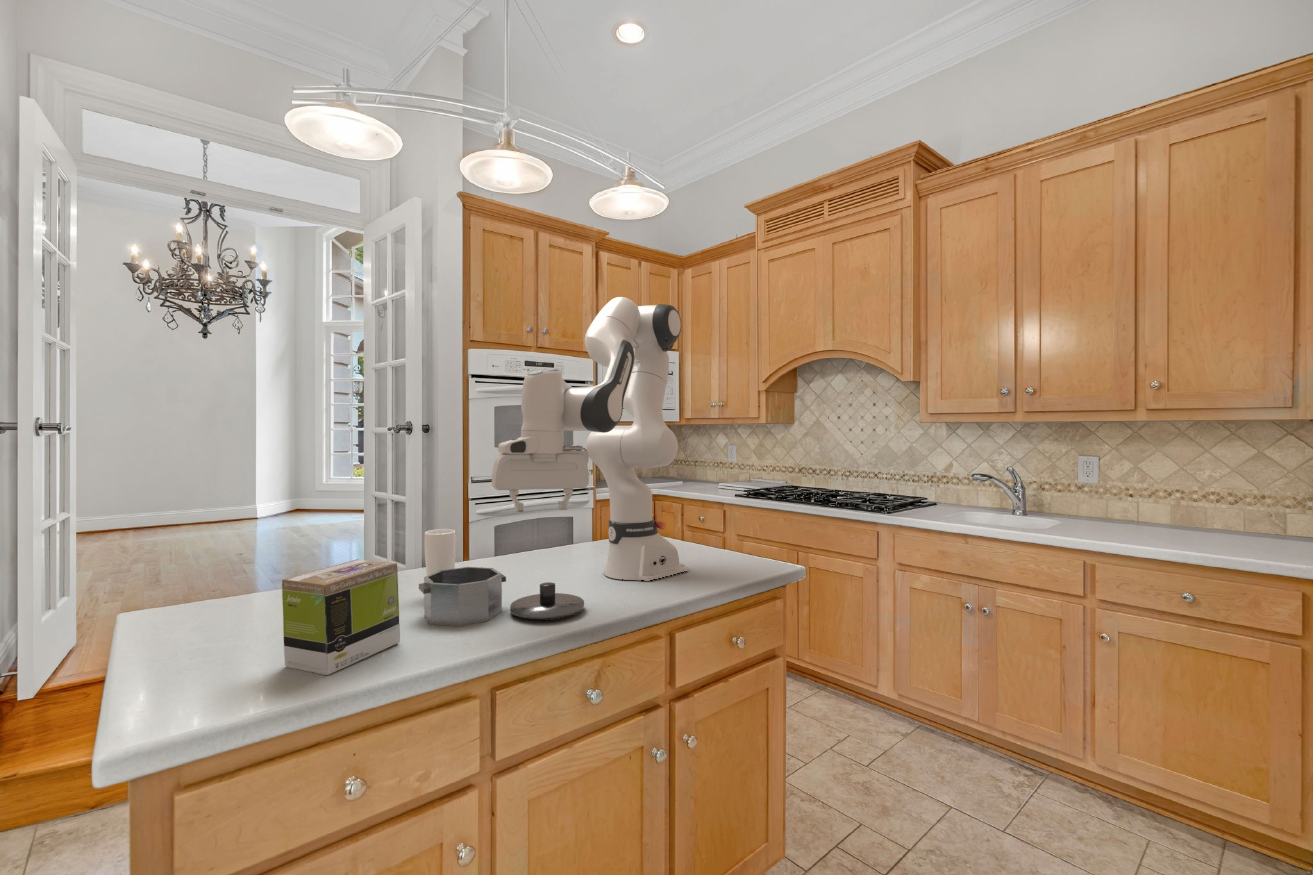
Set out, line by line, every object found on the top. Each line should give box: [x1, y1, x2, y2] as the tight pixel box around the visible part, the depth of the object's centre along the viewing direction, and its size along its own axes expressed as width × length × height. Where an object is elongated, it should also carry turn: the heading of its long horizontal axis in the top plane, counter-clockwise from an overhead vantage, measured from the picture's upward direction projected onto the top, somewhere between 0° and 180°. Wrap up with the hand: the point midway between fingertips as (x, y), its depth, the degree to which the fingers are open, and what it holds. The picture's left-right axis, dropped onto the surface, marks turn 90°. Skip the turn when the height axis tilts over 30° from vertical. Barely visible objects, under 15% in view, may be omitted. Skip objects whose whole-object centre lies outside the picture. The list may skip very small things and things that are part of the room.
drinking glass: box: [423, 528, 457, 576], centre depth 134 cm, size 7×7×15 cm
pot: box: [418, 566, 507, 627], centre depth 122 cm, size 17×14×8 cm
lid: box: [509, 582, 585, 621], centre depth 123 cm, size 15×15×6 cm
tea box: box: [281, 559, 401, 676], centre depth 100 cm, size 15×10×15 cm
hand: (541, 510), depth 124 cm, fingers open, 8 cm apart
